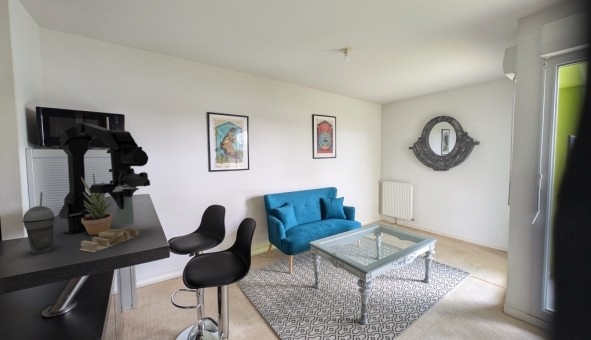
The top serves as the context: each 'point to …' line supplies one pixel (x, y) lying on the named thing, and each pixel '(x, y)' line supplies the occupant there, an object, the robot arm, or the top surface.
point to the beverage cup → (39, 228)
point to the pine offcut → (111, 234)
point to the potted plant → (96, 212)
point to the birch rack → (106, 241)
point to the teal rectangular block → (125, 212)
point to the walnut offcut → (117, 239)
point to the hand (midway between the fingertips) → (124, 208)
